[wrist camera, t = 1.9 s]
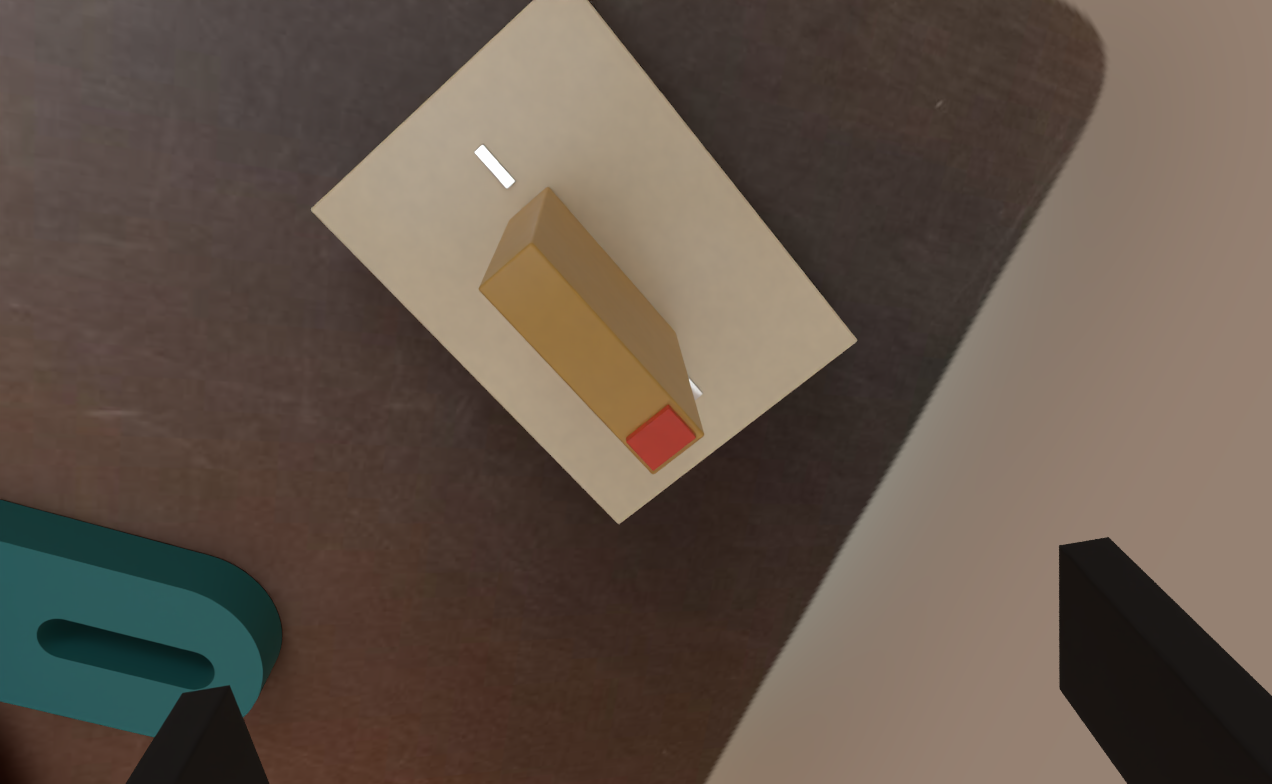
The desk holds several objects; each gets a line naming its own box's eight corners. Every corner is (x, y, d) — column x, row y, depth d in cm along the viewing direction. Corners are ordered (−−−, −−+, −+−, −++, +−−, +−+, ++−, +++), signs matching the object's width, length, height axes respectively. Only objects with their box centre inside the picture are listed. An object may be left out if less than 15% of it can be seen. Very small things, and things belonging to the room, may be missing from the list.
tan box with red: (508, 220, 28) (475, 292, 20) (548, 185, 27) (531, 244, 20) (637, 365, 29) (653, 481, 22) (676, 333, 29) (707, 440, 21)
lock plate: (335, 193, 30) (307, 211, 27) (567, -24, 28) (564, -31, 25) (616, 485, 34) (618, 527, 31) (835, 314, 32) (859, 342, 29)
